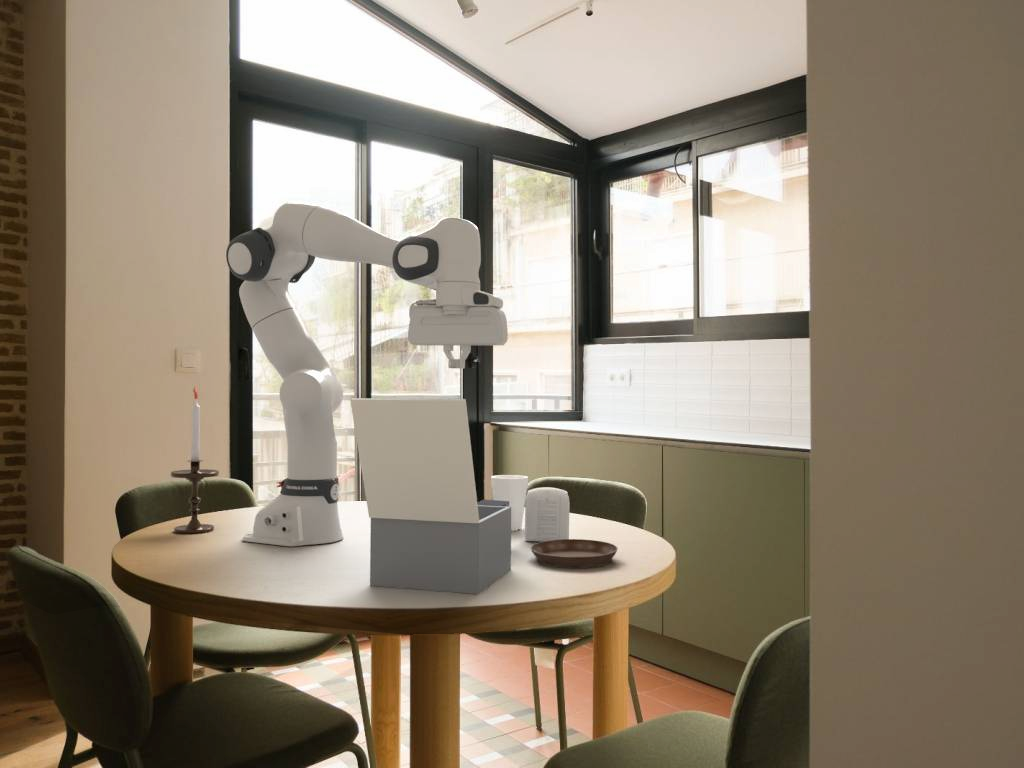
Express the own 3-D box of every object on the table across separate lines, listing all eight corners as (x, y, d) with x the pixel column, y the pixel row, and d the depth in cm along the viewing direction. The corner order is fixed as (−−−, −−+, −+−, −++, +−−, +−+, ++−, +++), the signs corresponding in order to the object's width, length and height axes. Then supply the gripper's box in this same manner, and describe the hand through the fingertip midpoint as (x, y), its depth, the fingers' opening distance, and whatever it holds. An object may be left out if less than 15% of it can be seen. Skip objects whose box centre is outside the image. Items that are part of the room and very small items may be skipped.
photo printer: (569, 539, 184) (569, 486, 184) (569, 543, 180) (569, 488, 180) (525, 539, 185) (525, 486, 185) (524, 542, 180) (524, 488, 181)
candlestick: (161, 531, 192) (163, 386, 192) (204, 525, 200) (205, 387, 201) (183, 536, 185) (185, 386, 185) (226, 530, 193) (228, 387, 194)
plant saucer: (554, 574, 150) (554, 558, 150) (516, 556, 166) (516, 542, 166) (634, 566, 157) (634, 551, 157) (590, 550, 173) (590, 536, 173)
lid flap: (370, 515, 139) (369, 517, 138) (351, 398, 132) (350, 399, 131) (479, 521, 133) (478, 523, 133) (465, 399, 126) (464, 400, 126)
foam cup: (527, 531, 194) (528, 478, 195) (490, 531, 194) (490, 478, 195) (527, 525, 204) (527, 475, 204) (491, 525, 204) (491, 474, 204)
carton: (370, 585, 138) (370, 517, 139) (414, 562, 158) (414, 502, 158) (478, 594, 133) (479, 522, 133) (510, 569, 152) (511, 506, 152)
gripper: (403, 298, 158) (402, 367, 158) (501, 296, 152) (500, 368, 152) (415, 301, 164) (414, 368, 164) (510, 300, 158) (509, 369, 158)
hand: (456, 368), depth 158 cm, fingers closed
